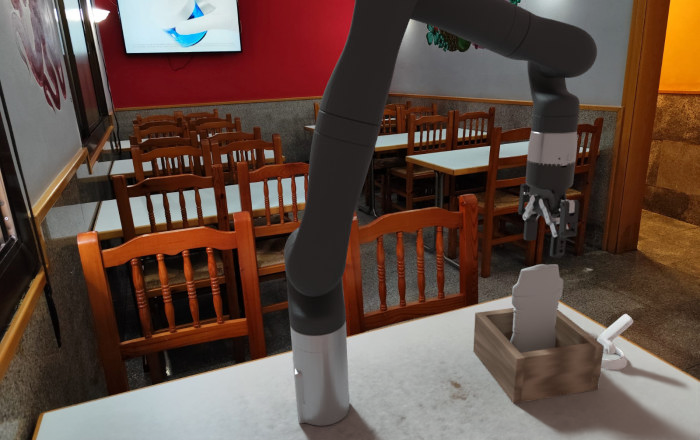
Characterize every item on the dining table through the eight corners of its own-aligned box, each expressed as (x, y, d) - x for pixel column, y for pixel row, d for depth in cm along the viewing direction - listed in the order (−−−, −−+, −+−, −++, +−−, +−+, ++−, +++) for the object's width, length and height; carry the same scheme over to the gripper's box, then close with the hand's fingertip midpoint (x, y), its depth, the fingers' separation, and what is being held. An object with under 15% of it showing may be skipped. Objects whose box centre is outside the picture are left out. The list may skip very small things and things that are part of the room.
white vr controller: (665, 345, 90) (642, 332, 87) (616, 385, 94) (594, 373, 91) (640, 318, 96) (618, 305, 94) (596, 357, 100) (574, 345, 98)
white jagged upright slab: (547, 358, 96) (557, 256, 89) (561, 370, 92) (573, 265, 85) (500, 368, 93) (507, 264, 87) (512, 380, 89) (520, 273, 83)
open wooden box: (513, 403, 84) (516, 358, 81) (473, 351, 99) (475, 312, 96) (597, 389, 86) (603, 346, 83) (546, 341, 102) (549, 303, 99)
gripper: (509, 152, 86) (503, 237, 91) (555, 167, 73) (545, 265, 78) (547, 150, 87) (539, 233, 92) (599, 164, 74) (587, 260, 79)
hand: (542, 247), depth 85 cm, fingers open, 8 cm apart
